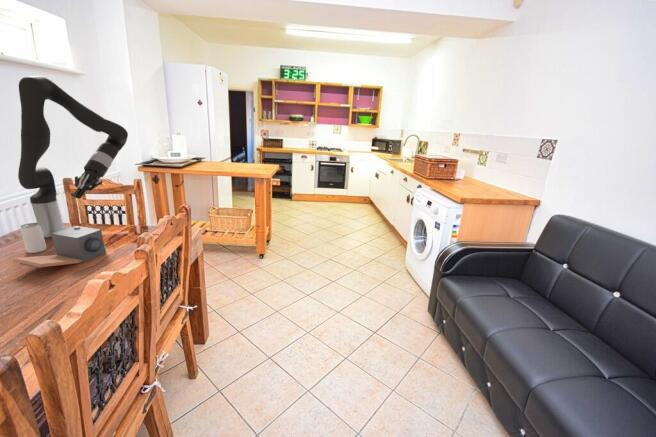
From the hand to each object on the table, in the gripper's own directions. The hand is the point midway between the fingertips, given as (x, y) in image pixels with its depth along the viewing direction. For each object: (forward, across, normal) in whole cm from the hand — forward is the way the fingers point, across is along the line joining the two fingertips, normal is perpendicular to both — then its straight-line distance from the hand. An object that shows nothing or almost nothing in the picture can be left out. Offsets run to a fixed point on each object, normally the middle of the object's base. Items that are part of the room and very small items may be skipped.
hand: (76, 197), depth 124 cm
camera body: (+20, +1, +15) cm, 25 cm away
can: (+22, -22, +14) cm, 34 cm away
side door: (+23, 0, +11) cm, 26 cm away
